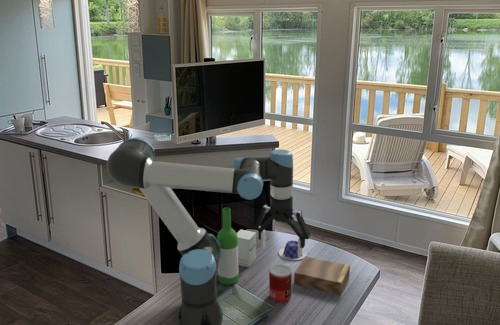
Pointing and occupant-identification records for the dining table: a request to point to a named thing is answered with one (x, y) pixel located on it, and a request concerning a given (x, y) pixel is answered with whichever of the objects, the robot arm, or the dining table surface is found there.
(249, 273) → the dining table surface
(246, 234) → the supplement box
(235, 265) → the wine bottle
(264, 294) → the dining table surface
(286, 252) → the pudding
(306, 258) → the wooden block
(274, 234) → the dining table surface
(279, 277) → the canned food
